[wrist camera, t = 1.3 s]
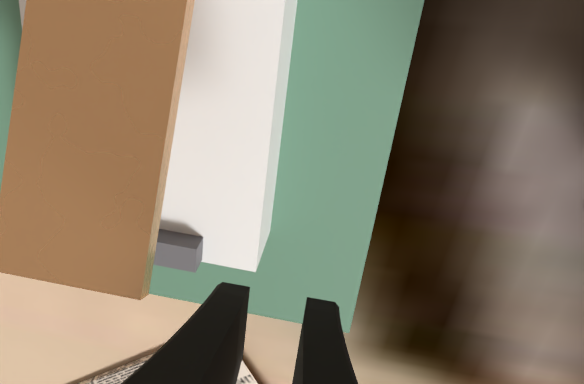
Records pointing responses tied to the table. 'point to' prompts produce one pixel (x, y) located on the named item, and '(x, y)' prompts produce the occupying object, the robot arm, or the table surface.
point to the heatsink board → (312, 156)
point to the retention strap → (92, 141)
